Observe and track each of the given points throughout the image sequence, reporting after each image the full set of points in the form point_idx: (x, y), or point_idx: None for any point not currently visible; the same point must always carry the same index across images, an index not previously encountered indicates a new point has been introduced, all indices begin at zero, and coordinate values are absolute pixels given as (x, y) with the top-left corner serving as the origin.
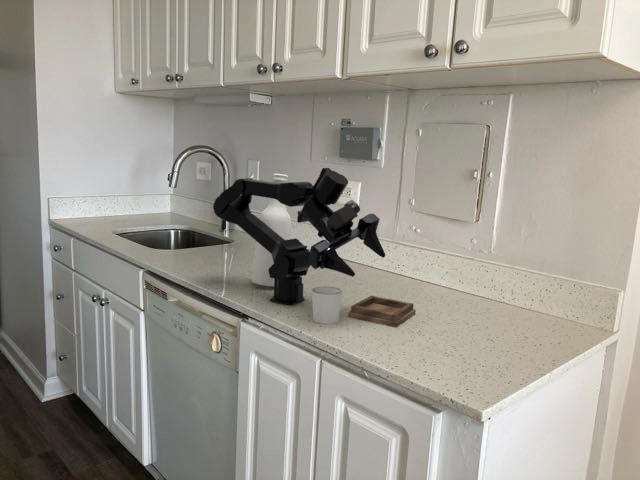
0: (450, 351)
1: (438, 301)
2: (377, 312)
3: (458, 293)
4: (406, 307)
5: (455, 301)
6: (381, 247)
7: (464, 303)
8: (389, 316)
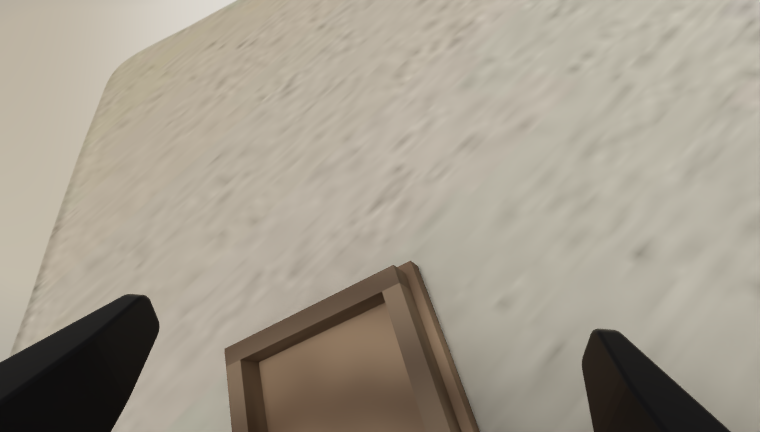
0: (434, 47)
1: None
2: (424, 352)
3: None
4: (280, 326)
5: None
6: (38, 347)
7: None
8: (407, 294)
